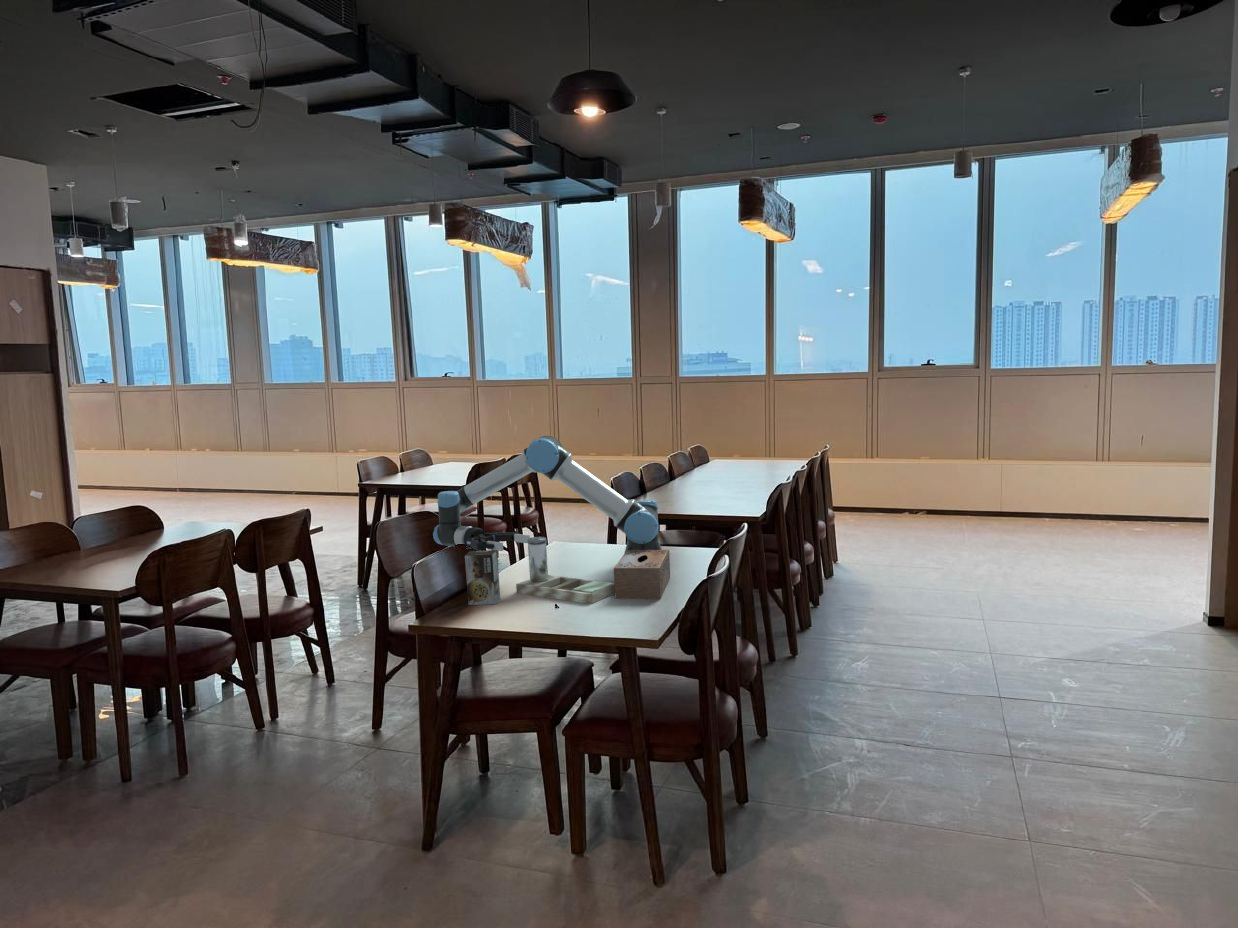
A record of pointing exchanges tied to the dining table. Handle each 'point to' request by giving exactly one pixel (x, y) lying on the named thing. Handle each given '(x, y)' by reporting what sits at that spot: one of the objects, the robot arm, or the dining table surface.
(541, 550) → the canister
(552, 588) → the board
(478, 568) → the coffee box
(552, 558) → the dining table surface
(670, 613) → the dining table surface
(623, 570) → the tissue box cover
